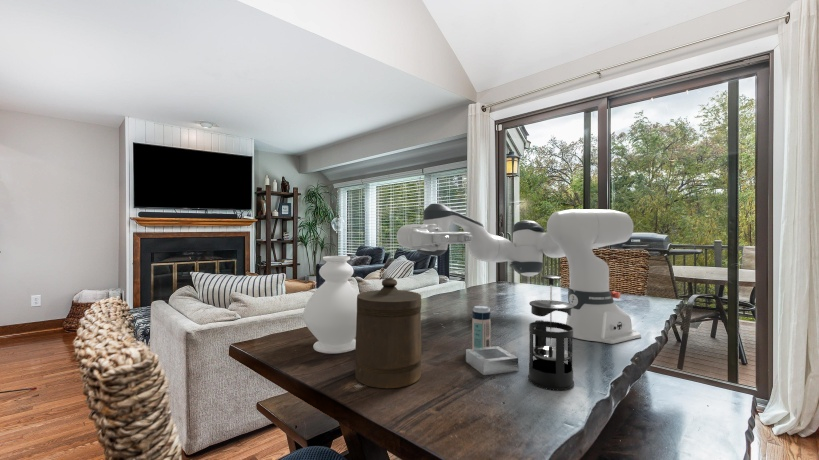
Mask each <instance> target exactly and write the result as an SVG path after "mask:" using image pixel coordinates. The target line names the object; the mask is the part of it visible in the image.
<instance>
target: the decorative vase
mask: <svg viewBox="0 0 819 460" xmlns="http://www.w3.org/2000/svg"><path fill="white" fill-rule="evenodd" d="M322 260H323V261H324V262H325V263H324V264H323V265H322V266H321V267H320V268H319V269H318V270H319V271H318V274H319V276H320V277H321V278H322V279H323V280H325V281H323V283H322V284H320V286H319V287H317V289H316V290H315V291H314V292H313V293H312V294H311V296H310V298H309V299H308V301H307V302H306V304H305V307H304V309H303V310H304V311H303V322H304V324H305V325H306V327H307V329H308V330H309V331H310V332H311V333H312V335H313V336H314V337H315V338H316V339H317V341H315V342H314V343H313V349H314V351H316V352H319V353H323V354H342V353H347V352H352V351H354V350H355V348H356V318H357V295H358V294H360V293H361V292H360V291H359V290H358V289H357V288H356V287H355V286H354V285H353V284H352V283H351V282H350V281H349V280H350V278H351V277H353V275H354V268H353V266H352V265H350V263H348V261H350V260H351V256H349V255H326V256H322Z"/></svg>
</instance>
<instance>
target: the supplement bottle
mask: <svg viewBox="0 0 819 460" xmlns="http://www.w3.org/2000/svg"><path fill="white" fill-rule="evenodd" d="M471 313H472V317H471V319H472V320H471V321H472V322H471V323H472V324H471V325H472V326H471V327H472V329H471V331H472V332H471V334H472V337H471V339H472V340H471V341H472V342H471V345H472V346H471V349H475V348H484V347H491V309H490V307H489V306H488V305H479V304H478V305H474V306H473V308H472V309H471Z"/></svg>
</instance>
